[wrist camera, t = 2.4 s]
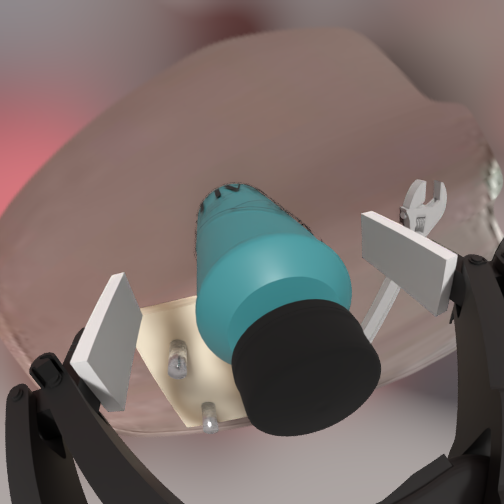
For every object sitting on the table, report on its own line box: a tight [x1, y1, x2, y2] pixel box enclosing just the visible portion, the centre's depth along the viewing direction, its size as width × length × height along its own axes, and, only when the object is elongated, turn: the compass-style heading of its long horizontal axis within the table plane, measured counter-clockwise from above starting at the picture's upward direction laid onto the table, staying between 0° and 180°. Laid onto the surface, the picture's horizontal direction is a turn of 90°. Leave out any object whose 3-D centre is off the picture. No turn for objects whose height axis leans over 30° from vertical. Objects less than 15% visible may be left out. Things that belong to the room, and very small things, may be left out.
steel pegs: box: [168, 339, 218, 434], centre depth 28 cm, size 13×13×4 cm
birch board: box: [136, 295, 247, 427], centre depth 30 cm, size 20×20×2 cm
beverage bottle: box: [194, 182, 381, 436], centre depth 15 cm, size 6×7×20 cm
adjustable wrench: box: [361, 179, 447, 343], centre depth 30 cm, size 25×6×2 cm, turn 157°
